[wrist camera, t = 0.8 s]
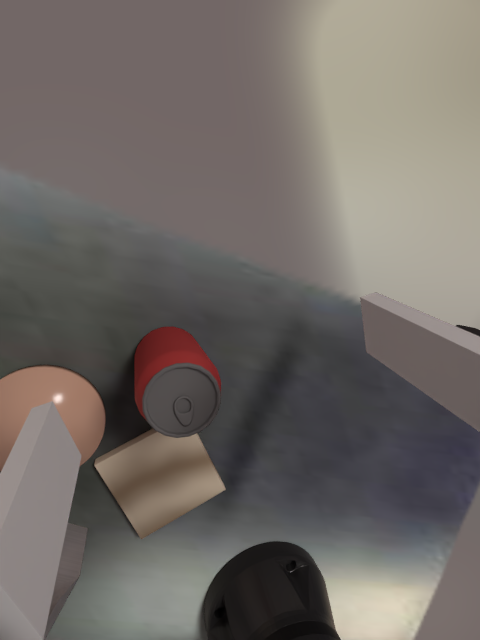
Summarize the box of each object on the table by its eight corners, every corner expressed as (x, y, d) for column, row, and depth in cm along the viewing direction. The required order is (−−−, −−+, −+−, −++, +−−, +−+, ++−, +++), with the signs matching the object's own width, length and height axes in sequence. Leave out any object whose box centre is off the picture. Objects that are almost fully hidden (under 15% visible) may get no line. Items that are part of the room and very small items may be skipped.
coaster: (125, 437, 37) (125, 442, 36) (19, 494, 35) (15, 500, 34) (70, 344, 34) (68, 347, 33) (-49, 400, 32) (-55, 405, 31)
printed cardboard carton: (87, 527, 38) (72, 619, 28) (56, 584, 38) (31, 694, 28) (52, 518, 36) (23, 609, 27) (20, 576, 36) (-19, 688, 27)
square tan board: (223, 482, 41) (225, 489, 40) (140, 531, 39) (141, 539, 38) (185, 410, 38) (187, 415, 37) (95, 458, 37) (94, 465, 35)
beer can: (141, 394, 37) (144, 456, 25) (128, 332, 35) (125, 367, 24) (204, 380, 38) (234, 431, 27) (194, 319, 37) (221, 347, 26)
